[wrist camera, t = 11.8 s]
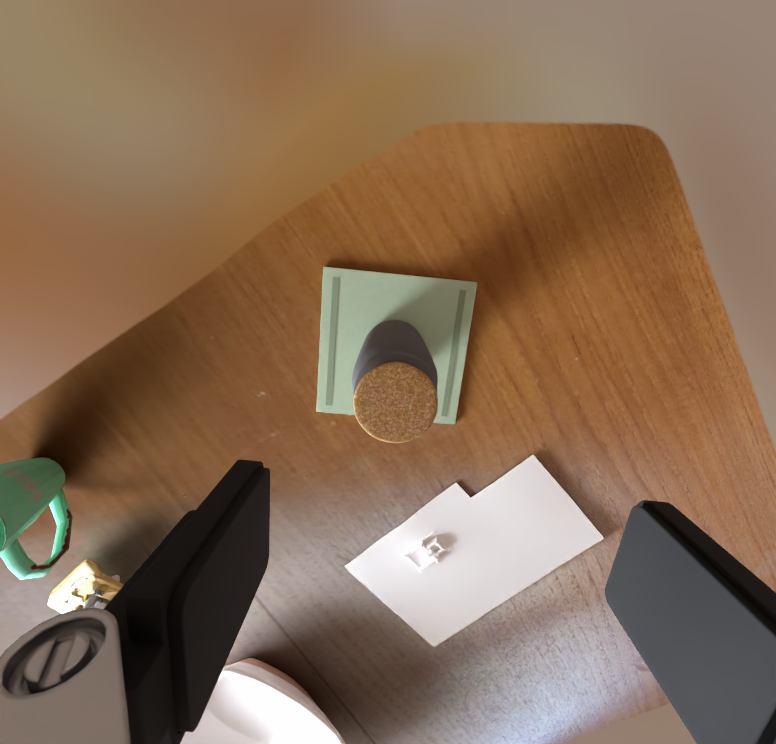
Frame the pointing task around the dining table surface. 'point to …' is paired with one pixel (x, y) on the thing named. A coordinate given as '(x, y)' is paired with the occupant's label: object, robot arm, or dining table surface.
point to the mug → (31, 511)
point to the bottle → (395, 383)
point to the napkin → (391, 302)
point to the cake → (84, 589)
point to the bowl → (261, 710)
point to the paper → (474, 550)
